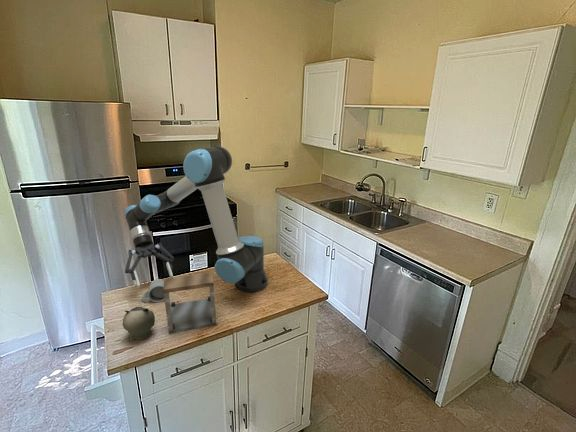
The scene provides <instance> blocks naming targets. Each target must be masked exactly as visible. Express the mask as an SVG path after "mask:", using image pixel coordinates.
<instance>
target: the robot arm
mask: <svg viewBox="0 0 576 432" xmlns="http://www.w3.org/2000/svg"><path fill="white" fill-rule="evenodd" d="M232 164H233V158H232V155H231V153H230V152H229V151H228V150H227V148H224V147H222V146H218V145H216V146H215V145H214V146H210V147H203V148H197V149H195V150H192V151H190V152H189V153H187V154H186V156H185V158H184V160H183V164H182V165H183V166H182V168H183V173H184V175H185V176H184V177H182V178H181V179H180V180H178V181H177V182H175V183H174V184H173V185H172V186H170V187H169V188H168V189H167V190H165V191H164V192H161V193H159V194H156V195H155V194H147V195H145V196H144V197H143V198H142V199H141V200H140V201H139V202H138V203H137V204H132V205H129V206H127V207H126V208H124V216H125V217H124V218H125V220H126V223H127V226H128V228H129V229H128V230H129V232H130V236H131V239H132V241H133V245H134V248H135V249H129V250H128V259H127V261H126V265H125V269H124V273H125V274H130V276H131V279H132V281H135V283H136V287H137V289H138V288H140V286H141V284H140V281H139V277H138V274H137V271H136V268H137V266H138V264H139V262H140V261H141V259H145V258H149V257H152V256H153V257H156V258H158V259H160V260H161V261H163V262H165V266H166V269H167V271H168V275H169V278H173V276H174V275H173V271H172V270H173V268H174V266H173V263H172V262H173V261H174V260H175V257H174V256H173V254H171V253H170V252H169V251H168V250H167V248H165V247H164V246H163V244H162V243H161V242H159V243H157V244H154V241H153V239H152V236H151V232H150V229H149V226H148V224H147V220H149V219H150V218H151V217H152V216H153V215H156V214H157V213H158V214H159V213H160V212H163V211H165V210H167V209H169V208H170V209H171V208H173V207H175V206H177V205H179V204H180V202H181V201H182V200H183V199H185V198H186V197H188V196H189V195H191V194H192V193H193V192H195V191H197V189H198V190H199V191H200V192H201V195H202V198H203V202H204V205H205V208H206V209H205V210H206V212H207V214H208V215H207V216H208V218H209V222H210V224H211V227H212V232H213V234H214V237H215V241H216V244H217V249H216V251H215V255H216V257H217V260H216V262H215V264H214V271H215V273H216V275H217V276H218V277H219V279H220V280H222V281H224V282H226V283H228V284H234V285H235V288H236V289H237V290H239V291H240V292H244V293H256V292H259V291H262V290H264V289H265V288H267V286H268V284H269V282H268V280H269V279H268V276H267V273H266V270H265V264H264V263H265V262H264V258H265V256H264V250H265V249H264V248H265V245H264V240H263V239H262V238H261V237H259V236H255V235H243V236H240V237H238V233H237V230H236V226H235V223H234V219H233V216H232V213H231V209H230V205H229V201H228V198H227V195H226V192H225V189H224V183H225V181H226V178H225V174H227V173H228V171H230V170H231V168H232ZM156 249H157V250H159V251H160V252H161V253H160V252H159V251H157V250H156ZM135 254H136V255H137V258H136V260H134V263H133V264H132V267H131V268H130V266H131V261H132V258H133V256H134V255H135Z"/></svg>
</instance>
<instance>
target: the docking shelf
mask: <svg viewBox="0 0 576 432" xmlns="http://www.w3.org/2000/svg"><path fill="white" fill-rule="evenodd" d="M202 288H209V296H207V298H204V299H203V298H202V299H197V300H196V299H195V300H191V301H190V300H189V301H184V302H177V303H176V301H170V293H174V292H175V293H176V292H182V291H190V290H196V289H202ZM163 292H164V300H163V301H164V306H165V313H166V321H167V327H168V329H167V330H168V334H175V333H181V332H186V331H191V330H196V329H198V330H199V329H203V328H208V327H213V326H217V324H218V323H217V312H216V311H217V310H216V299H215V284H214V278H213V272H205V273H198V274H191V275H184V276H182V275H181V276H176V277H175V276H174V277H172V278H170V277H169V278H164V286H163Z"/></svg>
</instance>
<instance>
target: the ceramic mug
mask: <svg viewBox="0 0 576 432" xmlns="http://www.w3.org/2000/svg"><path fill="white" fill-rule="evenodd" d="M163 286H164V280H163V279H161V278H156V279H154V280H152V282H150V284H149V288H148V291H145V293H143V295H142V296H141V300H142V302H149V301H150V302H154V303H160V302H161V303H162V302H163V301H165V300H164V292H163Z"/></svg>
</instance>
